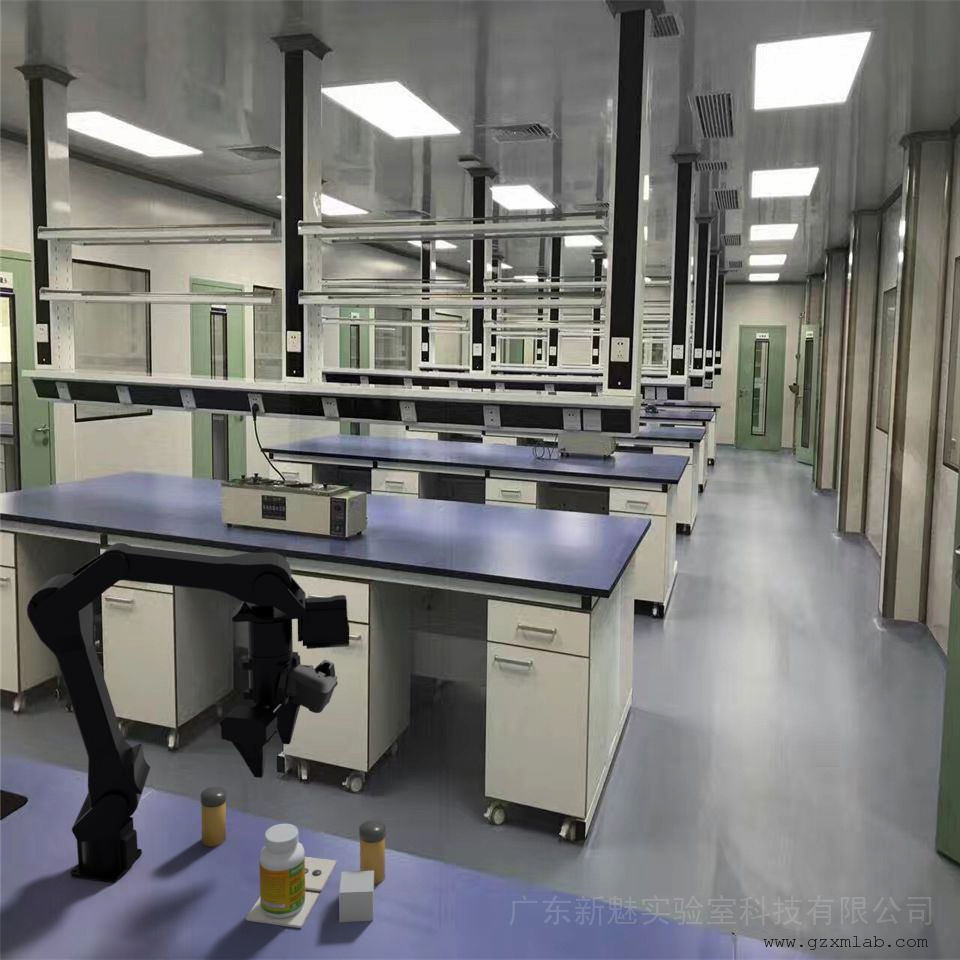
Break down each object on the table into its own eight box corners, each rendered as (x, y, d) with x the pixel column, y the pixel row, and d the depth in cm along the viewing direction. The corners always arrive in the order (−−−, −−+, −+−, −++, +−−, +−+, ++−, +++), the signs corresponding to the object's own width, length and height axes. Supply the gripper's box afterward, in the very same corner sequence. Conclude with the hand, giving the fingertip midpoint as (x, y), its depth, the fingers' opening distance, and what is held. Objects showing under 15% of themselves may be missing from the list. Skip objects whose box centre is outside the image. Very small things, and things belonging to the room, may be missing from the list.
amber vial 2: (355, 883, 108) (355, 833, 106) (363, 867, 111) (363, 819, 110) (381, 886, 107) (381, 837, 106) (388, 870, 110) (388, 822, 109)
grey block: (339, 922, 101) (339, 892, 100) (341, 900, 104) (341, 871, 104) (372, 921, 101) (372, 891, 100) (374, 899, 105) (374, 870, 104)
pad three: (269, 884, 107) (269, 881, 107) (287, 856, 113) (287, 853, 113) (321, 891, 106) (321, 888, 106) (337, 862, 112) (337, 860, 112)
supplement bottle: (294, 922, 100) (293, 848, 98) (252, 915, 101) (250, 842, 99) (312, 894, 105) (311, 823, 103) (272, 887, 106) (270, 817, 104)
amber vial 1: (197, 845, 115) (196, 799, 113) (206, 831, 118) (206, 786, 117) (221, 847, 114) (221, 801, 113) (229, 833, 118) (230, 787, 117)
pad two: (246, 920, 100) (246, 917, 100) (266, 888, 106) (266, 885, 106) (301, 928, 99) (301, 925, 99) (319, 895, 105) (319, 892, 105)
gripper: (302, 683, 100) (304, 803, 102) (351, 630, 118) (352, 733, 120) (215, 675, 101) (219, 793, 104) (276, 624, 120) (279, 726, 122)
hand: (273, 759), depth 113 cm, fingers open, 9 cm apart
